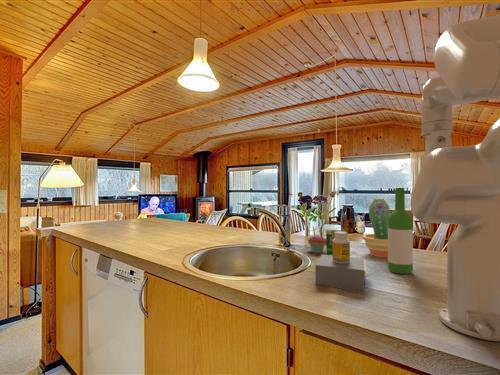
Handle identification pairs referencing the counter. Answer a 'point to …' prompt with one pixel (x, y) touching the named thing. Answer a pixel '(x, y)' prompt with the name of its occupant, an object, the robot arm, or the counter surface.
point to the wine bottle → (400, 237)
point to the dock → (341, 273)
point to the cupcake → (317, 243)
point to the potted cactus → (378, 228)
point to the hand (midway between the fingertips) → (436, 186)
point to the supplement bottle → (341, 248)
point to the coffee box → (329, 240)
